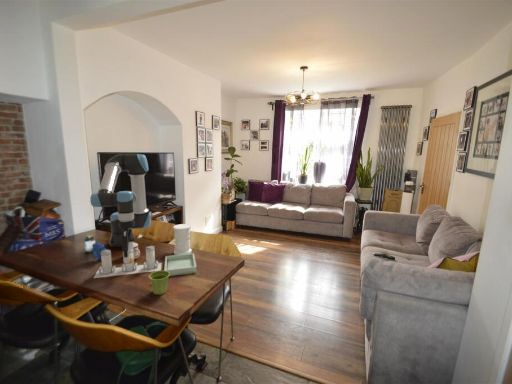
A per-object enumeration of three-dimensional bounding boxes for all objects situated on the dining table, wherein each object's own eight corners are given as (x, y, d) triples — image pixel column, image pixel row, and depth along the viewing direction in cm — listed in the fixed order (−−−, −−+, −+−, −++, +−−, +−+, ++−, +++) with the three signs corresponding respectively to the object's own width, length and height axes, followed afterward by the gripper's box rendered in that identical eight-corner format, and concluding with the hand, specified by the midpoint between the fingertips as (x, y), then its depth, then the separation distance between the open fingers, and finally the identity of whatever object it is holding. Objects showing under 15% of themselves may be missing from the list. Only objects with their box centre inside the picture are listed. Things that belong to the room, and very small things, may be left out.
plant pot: (163, 284, 131) (162, 268, 129) (174, 291, 125) (173, 274, 123) (145, 292, 123) (144, 275, 122) (156, 299, 117) (155, 281, 116)
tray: (165, 261, 157) (165, 256, 157) (194, 258, 162) (193, 253, 162) (164, 276, 139) (164, 270, 138) (196, 272, 144) (196, 266, 143)
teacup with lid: (119, 260, 157) (118, 242, 155) (131, 255, 165) (130, 238, 164) (134, 264, 153) (133, 245, 151) (145, 258, 161) (144, 240, 159)
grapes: (86, 262, 154) (84, 243, 152) (96, 258, 160) (95, 239, 158) (101, 265, 150) (99, 246, 148) (111, 260, 157) (109, 242, 155)
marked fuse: (125, 268, 144) (124, 248, 142) (134, 267, 145) (133, 247, 143) (124, 272, 139) (122, 251, 137) (133, 271, 141) (132, 250, 139)
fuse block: (98, 272, 142) (96, 249, 140) (161, 265, 152) (160, 243, 150) (93, 280, 133) (91, 256, 131) (161, 272, 143) (159, 249, 140)
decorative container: (188, 247, 180) (187, 222, 177) (194, 253, 170) (193, 227, 167) (171, 250, 173) (170, 225, 171) (176, 257, 164) (175, 230, 161)
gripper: (123, 215, 148) (125, 249, 151) (113, 226, 125) (116, 267, 128) (137, 214, 150) (139, 248, 154) (130, 225, 127) (132, 266, 130)
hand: (128, 257), depth 141 cm, fingers open, 13 cm apart
